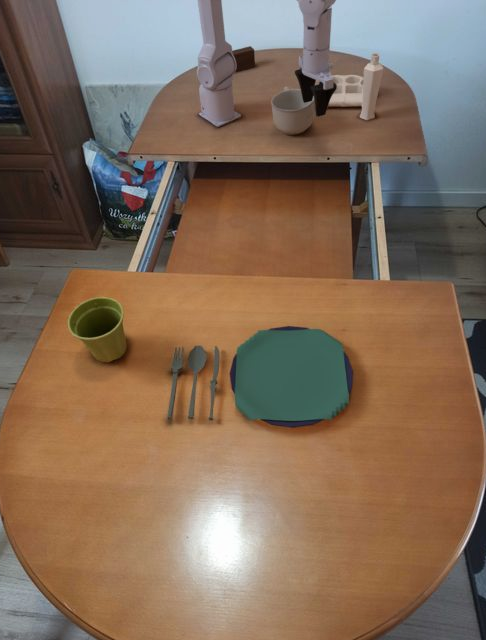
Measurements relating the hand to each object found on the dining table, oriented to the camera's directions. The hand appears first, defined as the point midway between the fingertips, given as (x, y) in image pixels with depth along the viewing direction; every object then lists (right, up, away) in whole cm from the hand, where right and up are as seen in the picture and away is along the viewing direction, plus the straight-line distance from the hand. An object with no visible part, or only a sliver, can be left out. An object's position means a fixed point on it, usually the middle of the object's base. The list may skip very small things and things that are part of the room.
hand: (314, 108), depth 118 cm
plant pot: (-42, -58, -30) cm, 77 cm away
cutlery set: (-15, -63, -36) cm, 74 cm away
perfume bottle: (+16, +4, +12) cm, 20 cm away
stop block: (-18, +30, +36) cm, 50 cm away
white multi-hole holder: (+11, +12, +20) cm, 26 cm away
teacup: (-4, +1, +13) cm, 13 cm away
